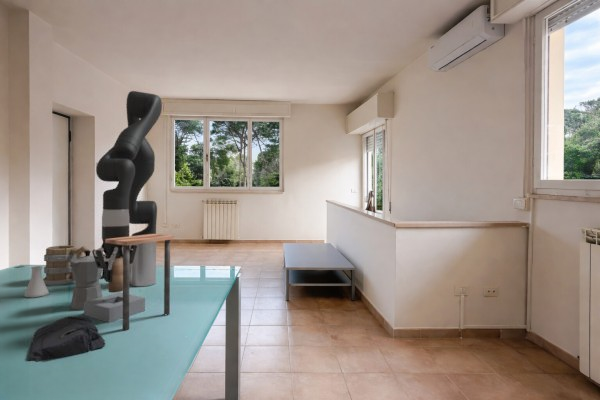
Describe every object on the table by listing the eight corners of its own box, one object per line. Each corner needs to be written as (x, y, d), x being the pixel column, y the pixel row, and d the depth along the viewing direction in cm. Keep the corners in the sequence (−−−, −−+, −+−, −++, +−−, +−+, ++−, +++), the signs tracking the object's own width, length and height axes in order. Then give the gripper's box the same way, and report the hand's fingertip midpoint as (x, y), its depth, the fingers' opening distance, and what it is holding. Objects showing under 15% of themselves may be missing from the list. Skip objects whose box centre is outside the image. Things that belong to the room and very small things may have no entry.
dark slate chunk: (98, 322, 106) (98, 306, 106) (106, 351, 87) (106, 331, 87) (32, 333, 97) (32, 315, 97) (25, 367, 79) (25, 345, 79)
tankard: (35, 283, 146) (35, 245, 146) (66, 276, 158) (66, 241, 158) (70, 289, 139) (70, 249, 138) (100, 281, 151) (100, 244, 150)
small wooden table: (104, 325, 103) (105, 239, 102) (152, 309, 117) (152, 233, 116) (126, 331, 98) (126, 241, 98) (172, 314, 112) (173, 235, 112)
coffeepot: (80, 313, 112) (81, 254, 111) (57, 310, 115) (57, 252, 114) (119, 299, 126) (120, 247, 126) (98, 296, 129) (98, 245, 129)
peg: (105, 291, 112) (105, 258, 112) (117, 288, 115) (117, 256, 115) (114, 293, 110) (114, 259, 110) (126, 290, 114) (126, 257, 113)
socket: (83, 315, 110) (83, 301, 110) (119, 304, 121) (120, 292, 121) (109, 322, 105) (109, 308, 105) (144, 310, 115) (145, 298, 115)
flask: (53, 294, 132) (53, 266, 132) (31, 299, 125) (31, 270, 125) (41, 291, 135) (41, 264, 135) (19, 296, 128) (19, 267, 128)
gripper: (128, 222, 120) (127, 274, 121) (85, 225, 108) (85, 283, 108) (144, 223, 117) (143, 277, 117) (101, 226, 104) (101, 287, 105)
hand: (115, 280), depth 113 cm, fingers closed on peg, 4 cm apart
